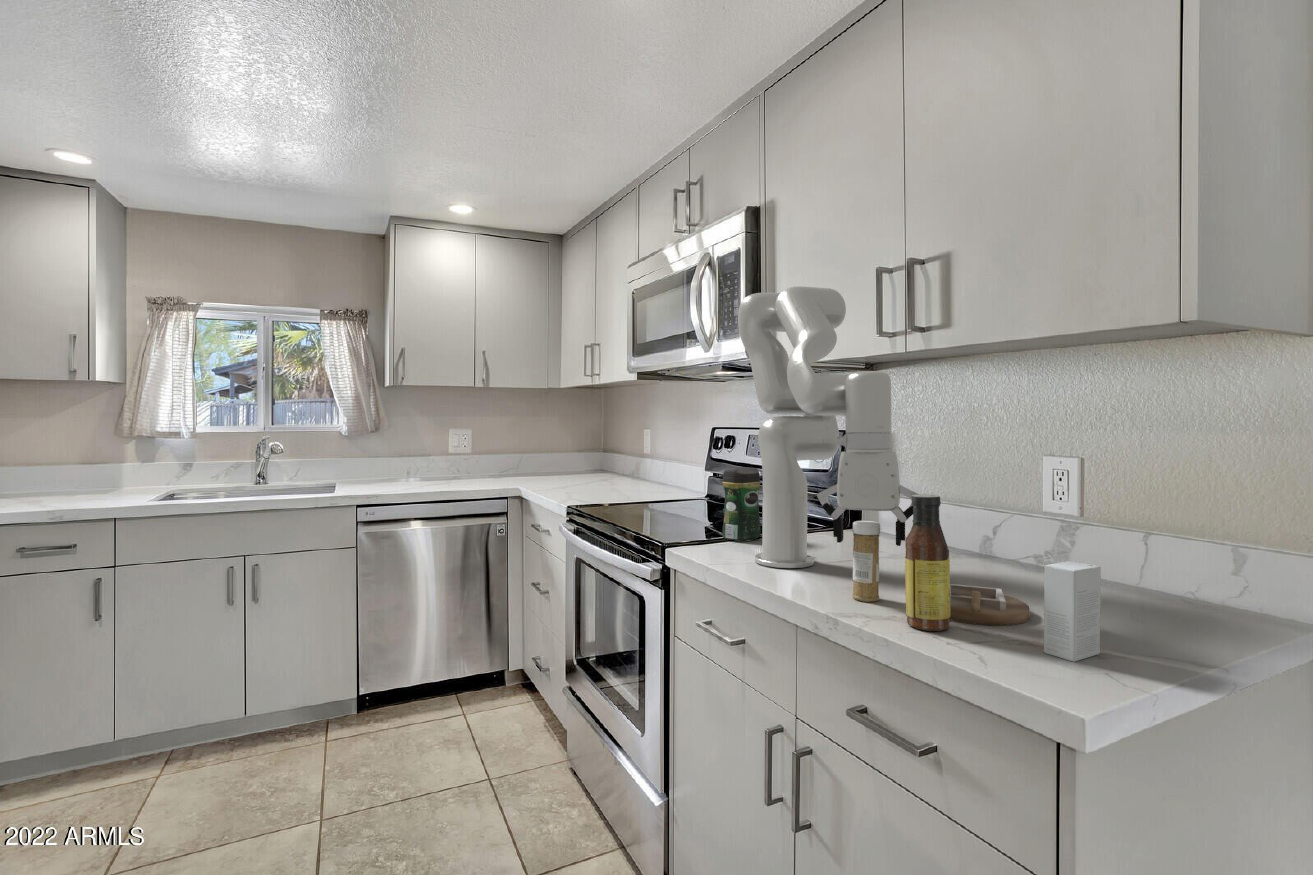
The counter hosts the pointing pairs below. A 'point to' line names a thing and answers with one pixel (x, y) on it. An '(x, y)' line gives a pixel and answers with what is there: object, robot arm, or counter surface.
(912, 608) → the sauce bottle
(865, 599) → the spice jar
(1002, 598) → the brown piece
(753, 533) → the coffee jar
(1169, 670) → the counter surface
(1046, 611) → the skincare box
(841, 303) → the robot arm
